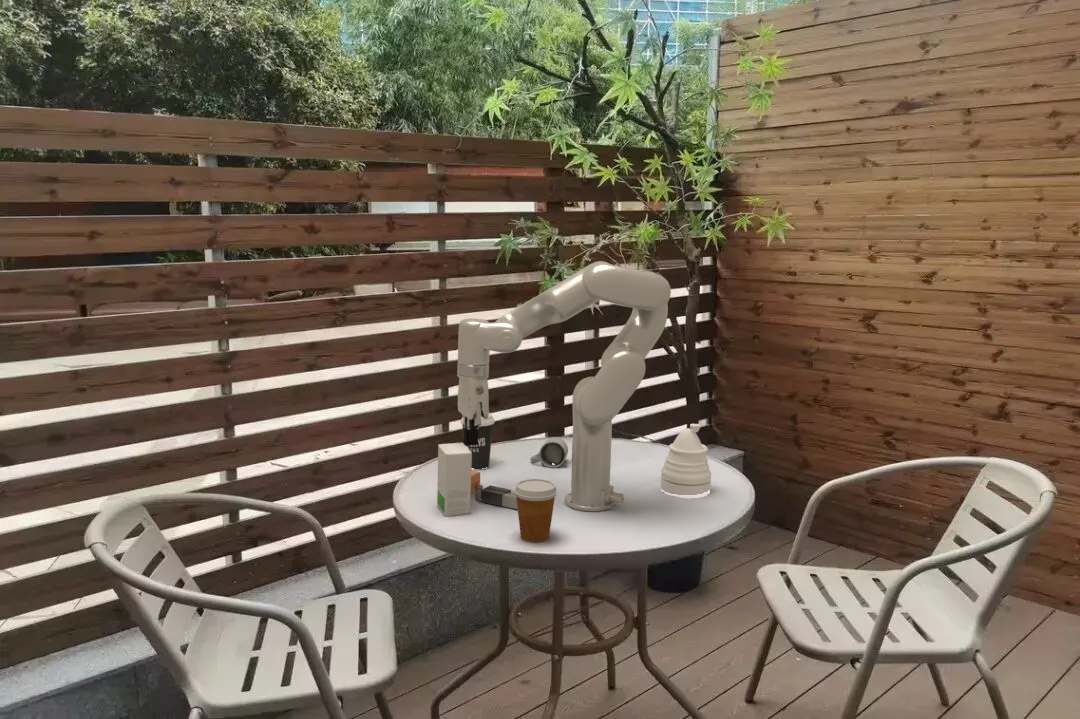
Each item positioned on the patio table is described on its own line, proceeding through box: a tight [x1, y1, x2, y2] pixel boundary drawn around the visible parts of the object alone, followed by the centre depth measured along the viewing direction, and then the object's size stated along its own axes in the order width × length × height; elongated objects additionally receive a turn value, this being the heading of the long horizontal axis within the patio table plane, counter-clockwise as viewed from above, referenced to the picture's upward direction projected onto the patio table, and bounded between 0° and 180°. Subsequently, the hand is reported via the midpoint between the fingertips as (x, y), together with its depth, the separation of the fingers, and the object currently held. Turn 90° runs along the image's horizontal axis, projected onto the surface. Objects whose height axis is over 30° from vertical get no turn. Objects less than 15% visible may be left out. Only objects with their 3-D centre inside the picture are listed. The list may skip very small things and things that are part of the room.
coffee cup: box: [460, 412, 496, 469], centre depth 228 cm, size 10×10×15 cm
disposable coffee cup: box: [513, 478, 558, 543], centre depth 179 cm, size 10×10×12 cm
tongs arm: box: [477, 487, 518, 510], centre depth 198 cm, size 17×2×3 cm, turn 61°
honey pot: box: [659, 423, 712, 495], centre depth 211 cm, size 13×13×18 cm
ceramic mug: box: [530, 437, 569, 469], centre depth 233 cm, size 11×8×8 cm
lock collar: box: [471, 469, 481, 494], centre depth 205 cm, size 3×7×5 cm, turn 151°
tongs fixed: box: [474, 484, 515, 501], centre depth 200 cm, size 19×3×3 cm, turn 61°
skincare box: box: [436, 442, 472, 518], centre depth 194 cm, size 8×7×16 cm
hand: (470, 444), depth 198 cm, fingers closed
